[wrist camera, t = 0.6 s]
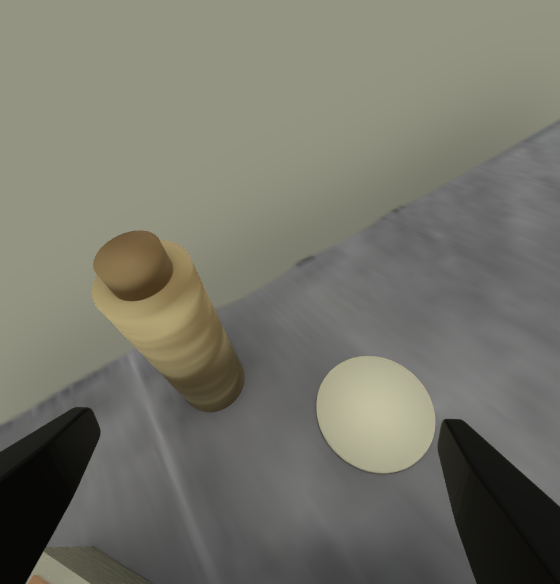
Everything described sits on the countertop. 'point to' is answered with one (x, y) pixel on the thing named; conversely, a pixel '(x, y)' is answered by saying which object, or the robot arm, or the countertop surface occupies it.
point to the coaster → (375, 414)
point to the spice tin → (80, 568)
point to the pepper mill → (167, 317)
